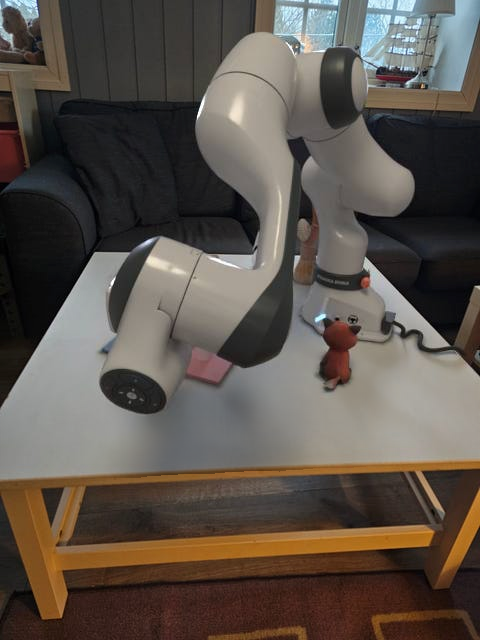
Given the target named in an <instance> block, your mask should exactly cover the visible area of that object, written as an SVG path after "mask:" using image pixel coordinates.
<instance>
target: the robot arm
mask: <svg viewBox="0 0 480 640" xmlns="http://www.w3.org/2000/svg"><path fill="white" fill-rule="evenodd" d="M368 79H369V78H368V73H367V70H366V68H365V63H364V61H363V58H362V56H361V54H359V53H358V52H357V51H355V50H354V49H353V48H352V47H350V46H329V47H327V48H326V49H325V50H317V51H310V52H308V51H307V52H303V53H298V54H295V52H294V51H293V49H292V47H291V46H290V44H288V42H287V41H286V40H284V39H283V38H282V37H281V36H279V35H278V34H274V33H272V32H267V31H257V32H252V33H250V34H248V35H245V36H244V37H243V38H241V39H240V40H239V41H238V42H237V43H236V44H235V45H234V46H233V48H232V49H231V50H230V51H229V53H227V55H226V56H225V58H224V59H223V61H222V62H221V63H220V65H219V67H217V70H216V72H215V73H214V75H213V77H212V78H211V80H210V83H209V84H208V86H207V89H206V91H205V93H204V94H203V97H202V99H201V103H200V106H199V108H198V112H197V116H196V119H195V126H194V131H195V132H194V134H195V139H196V145H197V146H198V149H199V152H200V154H201V157H202V158H203V160H204V162H205V163H206V164H207V166H208V167H209V168H210V169H211V171H212V172H213V174H215V175H216V177H218V178H219V179H221V180H222V181H223V182H225V183H226V185H228V186H230V187H231V188H232V189H234V190H235V191H236V192H237V193H238V194H239V195H240V196H241V197H243V199H244V200H245V201H246V202H247V203H248V204H249V205H250V206H251V207H252V208H253V210H254V211H255V212H256V215H257V216H258V219H259V239H258V245H257V246H256V247H257V248H256V249H257V254H256V262H255V267H254V268H246V267H243V266H240V265H238V264H235V263H232V262H230V261H227V260H224V259H222V258H220V257H219V258H220V259H219V258H217V257H214V256H212V255H211V254H209V253H206V252H204V251H203V250H202V249H198V248H196V247H193V246H191V245H188V244H185V243H183V242H181V241H178V240H175V239H171V238H169V237H166V236H163V235H158V236H154V237H152V238H149V239H147V240H146V241H144V242H141V243H140V244H139V245H137V246H136V247H135V248H133V249H132V250H131V251H130V253H129V254H128V255H127V257H126V258H125V260H124V261H123V262H122V264H121V266H120V267H119V269H118V271H117V273H116V274H115V276H114V277H113V278H112V279H111V281H110V282H109V284H108V288H107V289H106V290H105V308H106V317H107V321H108V326H109V330H110V332H111V333H113V334H116V336H115V337H116V339H115V341H114V343H113V345H112V346H111V348H110V350H109V353H107V354H106V357H105V360H104V362H103V364H102V367H101V369H100V374H99V377H98V385H99V388H100V392H101V393H102V394H103V395H104V396H105V398H106V399H107V400H108V401H109V402H110V403H112V404H113V405H115V406H117V408H121V409H123V410H126V411H129V412H130V413H131V412H132V413H135V414H140V415H153V414H157V413H160V412H162V411H163V410H165V409H166V408H167V407H168V406H169V404H170V403H171V401H172V400H173V399H174V398H175V396H176V394H177V392H178V390H179V389H180V387H181V385H182V383H183V381H184V379H185V377H186V376H185V375H186V373H187V370H188V368H189V365H190V362H191V359H192V351H193V349H194V348H195V347H198V348H201V349H203V350H206V351H209V352H212V353H214V354H217V355H216V356H218V357H220V358H222V359H224V360H226V361H228V362H231V363H233V365H235V366H238V367H239V368H241V369H243V370H244V369H249V368H254V367H258V366H260V365H263V364H265V363H267V362H270V361H271V360H273V359H275V358H277V357H278V356H279V355H280V354H281V352H282V350H283V349H284V346H285V344H286V343H287V340H288V338H289V336H290V332H291V329H292V324H293V312H294V271H295V260H296V259H295V258H296V249H297V240H298V236H297V230H298V223H299V221H300V220H299V219H300V210H301V209H300V208H301V197H302V190H303V192H304V193H305V194H306V196H307V197H308V198H309V200H310V202H311V205H312V204H313V206H314V209H315V211H316V215H317V219H318V224H319V243H318V245H317V251H316V261H315V263H314V266H313V270H312V277H311V284H310V285H311V286H310V290H309V292H308V296H307V298H306V302H305V304H304V306H303V308H302V310H301V317H302V318H303V319H304V321H305V322H306V323H308V324H309V325H310V326H312V327H314V329H315V331H317V333H319V334H320V335H323V332H324V329H325V327H324V324H323V318H329V319H331V320H332V321H341V322H344V323H346V324H349V325H350V326H353V325H359V326H361V329H360V331H359V333H358V334H357V339H358V340H361V341H367V342H375V343H383V342H385V341H387V340H389V339H390V337H391V335H392V332H393V326H395V327H397V328H399V329H400V332H399V335H400V337H401V338H404V339H406V338H408V337H409V336H411V335H413V334H416V335H417V336H418V339H417V347H418V348H419V349H420V350H421V351H423V352H426V353H430V354H431V353H434V354H435V353H443V352H449V351H450V352H451V351H455V352H457V353H459V354H460V356H464V357H467V353H466V351H465V350H464V349H463V348H461V347H459V346H455V345H447V346H441V347H428V346H425V345H424V344H423V341H424V333H423V332H422V331H421V330H419V329H416V328H412V329H409V330H408V331H406V327H405V326H404V324H402V323H400V322H398V321H396V320H395V319H396V315H397V313H396V312H393V311H389V310H387V307H386V303H385V302H386V301H385V300H384V298H383V297H382V296H381V294H379V293H378V292H377V291H376V290H375V289H374V288H373V287H372V286H371V283H372V282H371V281H372V280H371V271H370V269H366V268H365V267H364V265H365V259H366V255H367V251H368V246H369V237H368V233H367V232H366V230H365V228H364V227H363V226H361V224H360V223H359V222H358V220H357V218H356V216H355V213H354V211H355V212H358V213H362V214H365V215H368V216H373V217H389V218H390V217H393V218H394V217H397V216H399V215H400V214H401V213H403V212H404V211H405V210H406V209H407V208H408V207H409V205H410V203H411V202H412V200H413V198H414V195H415V187H416V186H415V179H414V176H413V174H412V171H411V170H410V169H408V168H406V167H405V166H403V165H402V164H401V163H398V162H397V161H395V160H394V159H393V158H392V157H391V156H390V155H388V154H387V152H386V151H385V150H384V149H383V148H382V147H381V146H380V145H379V144H378V142H377V141H376V140H375V139H374V138H373V136H372V135H371V133H370V131H369V129H368V127H367V125H366V122H365V119H364V117H363V113H364V111H365V108H366V103H367V97H368V92H369V91H368V90H369V80H368ZM300 137H301V138H302V140H303V142H304V143H305V146H306V148H307V150H308V153H309V154H310V156H308V158H307V159H306V161H305V162H304V164H303V166H302V169H301V166H300V162H298V160H297V159H296V158H295V156H293V154H292V152H291V149H290V146H289V143H288V140H295V139H298V138H300Z"/></svg>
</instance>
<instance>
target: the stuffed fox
mask: <svg viewBox="0 0 480 640" xmlns="http://www.w3.org/2000/svg"><path fill="white" fill-rule="evenodd" d="M323 324H324V327H325V329H324V332H323V334H322V339H323V342H324V343H325V344H326V345H327V347H328V350H327V352H325V354H324V356H323V358H321V360H320V362H319V370H318V375H319V376H321V377H322V379H323V380H325V381H326V382H323V383H322V384H323V385H324V386H325V387H327V388H329V389H335V388H336V385H337V384H338V382H339V380H341V383H342V385H343V384H344V383H347V382H348V379H349V378H350V377H351V376H352V371H353V370H352V368H351V367H350V357H351V356H350V351H349V350H351V349H353V348H354V347H356V345H357V343H358V340H359V339H357V334H358V333H359V331H360V329H361V326H359V325H353V326H350V325H349V324H346V323H344V322H341V321H332V320H331V319H329V318H323Z"/></svg>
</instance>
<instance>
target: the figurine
mask: <svg viewBox="0 0 480 640" xmlns="http://www.w3.org/2000/svg"><path fill="white" fill-rule="evenodd" d="M259 232H260V230H258V232H257V235H256V237H255V242H254V245H253V247H252V250H254V249H255V248H256V247H258V239H259ZM256 254H257V248H256V249H255V251H254V253H252V257H251V263H252V265H253V268H255V262H256Z"/></svg>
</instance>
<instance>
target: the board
mask: <svg viewBox="0 0 480 640" xmlns="http://www.w3.org/2000/svg"><path fill="white" fill-rule="evenodd" d="M115 339H116V336H115V337H114V338H113V339H111V340H110V341H109V342H108V343H107V344H105V345H104V346H103V347H102V348H101V352H102V353H105V354H108V353H109V350H110V348H111V346H112V345H113V343H114V341H115ZM216 355H217V354H214V353H213V355H212V358H211V359H209V360H206V361H201V360H198V359H196V358H195V354H194V349H193V351H192V359H191V362H190V365H189V368H188V370H187V373H186V375H185V377H188V378H191V379H195V380H198V381H202V382H206V383H209V384H212V385H215V386H220V384H221V382H222V381H223V380H224V379H225V377H226V376H227V374H228V373H229V371H230V370H231V368H232V367H233V365H234V364H233V363H231V362H228V361H226V360H224V359H222V358H220V357H218V356H216Z"/></svg>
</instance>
